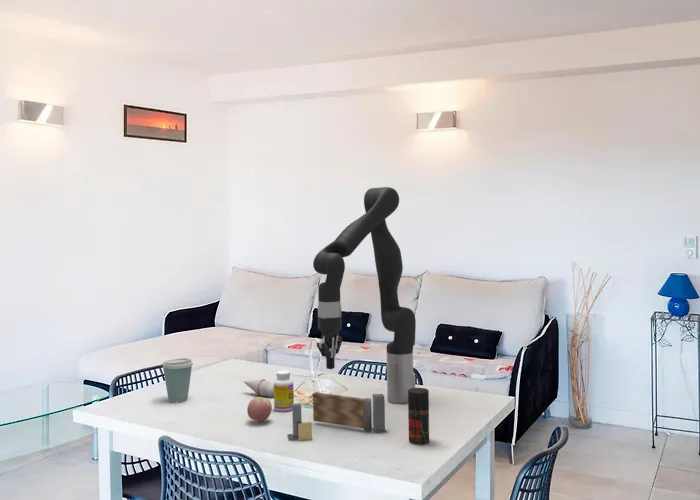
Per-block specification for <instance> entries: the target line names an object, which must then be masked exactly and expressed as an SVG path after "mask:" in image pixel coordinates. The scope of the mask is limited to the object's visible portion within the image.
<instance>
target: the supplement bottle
mask: <svg viewBox="0 0 700 500" xmlns="http://www.w3.org/2000/svg"><path fill="white" fill-rule="evenodd" d="M275 373H276V378H275V379H274V381H273V384H274V397H273V408H274V410H275V412H281V413H282V412H283V413H284V412H290V411H292V404H295V400H294V393H295V392H294V380H293V379H292V378H291V371H289V370H279V371H276V372H275Z"/></svg>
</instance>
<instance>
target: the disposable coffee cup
mask: <svg viewBox="0 0 700 500" xmlns="http://www.w3.org/2000/svg"><path fill="white" fill-rule="evenodd" d="M192 368H193V362H192V358H189V357H184V358H181V357H180V358H172V359H167V360H165V361H163V363H162V369H163V376H164V381H165V387H166V392H167V393H166V394H167V398H168V401H169V402H170V403H175V402H178V403H183V402H186V401H187V400H188V398H189V391H190V384H191V376H192Z"/></svg>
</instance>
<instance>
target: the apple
mask: <svg viewBox="0 0 700 500" xmlns="http://www.w3.org/2000/svg"><path fill="white" fill-rule="evenodd" d="M246 409H247V416H248V418H249V419H251V420H253V421H256V422H260V423H264V422H265V421H267V420H268V418H269V417H270V415H271V413H272V409H273V406H272V402H271V401H270V399H267V398H266V397H263V396H255V397H253V398H252V399H251V400H250V401H249V402H248V404H247V408H246Z"/></svg>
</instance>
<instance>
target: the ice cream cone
mask: <svg viewBox="0 0 700 500" xmlns="http://www.w3.org/2000/svg"><path fill="white" fill-rule="evenodd" d="M243 383H244V384H245V385H246V386H248V388H250V389H251V390H252V391H253V392H254V393H255V394H256V395H257V396H258V397H269V398H274V383H272V382H270V381H268V380H266V379H264V378H262V379H253V380H244V381H243Z"/></svg>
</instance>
